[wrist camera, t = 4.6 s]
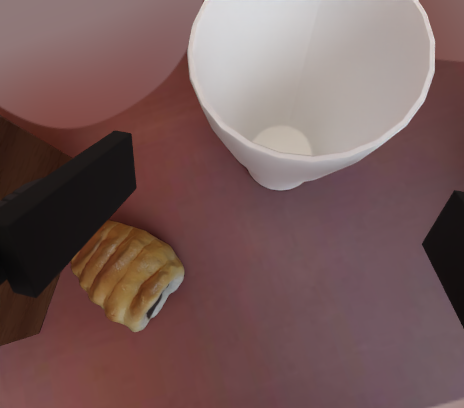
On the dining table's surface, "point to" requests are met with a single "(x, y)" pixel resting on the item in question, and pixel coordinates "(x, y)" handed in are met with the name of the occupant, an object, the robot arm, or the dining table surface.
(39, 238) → the robot arm
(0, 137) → the stove stand
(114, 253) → the pastry
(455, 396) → the dining table surface
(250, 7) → the cup
